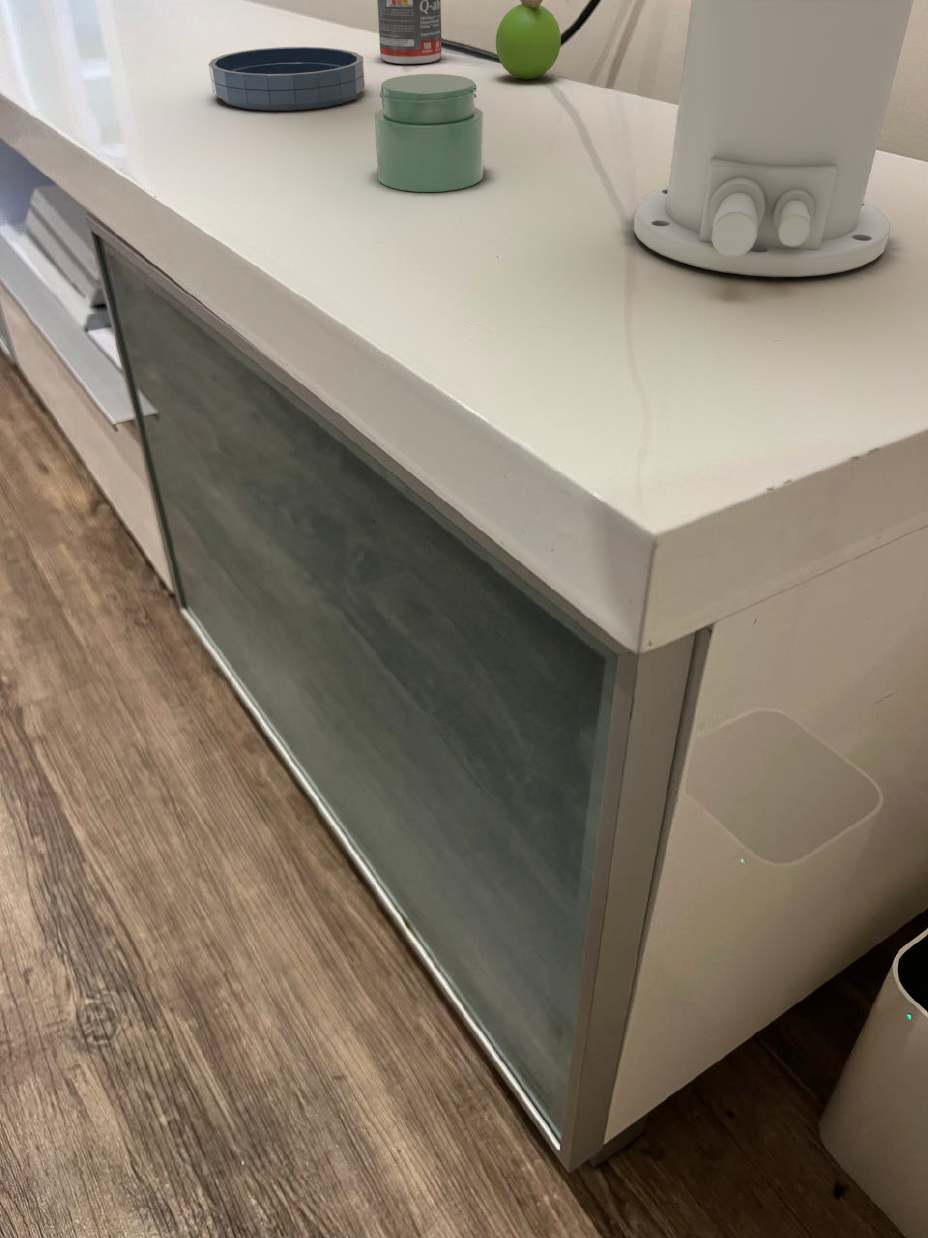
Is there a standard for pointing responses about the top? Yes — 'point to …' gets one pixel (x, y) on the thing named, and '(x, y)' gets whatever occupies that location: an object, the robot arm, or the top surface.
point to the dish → (287, 78)
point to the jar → (429, 133)
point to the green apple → (528, 40)
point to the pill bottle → (410, 30)
